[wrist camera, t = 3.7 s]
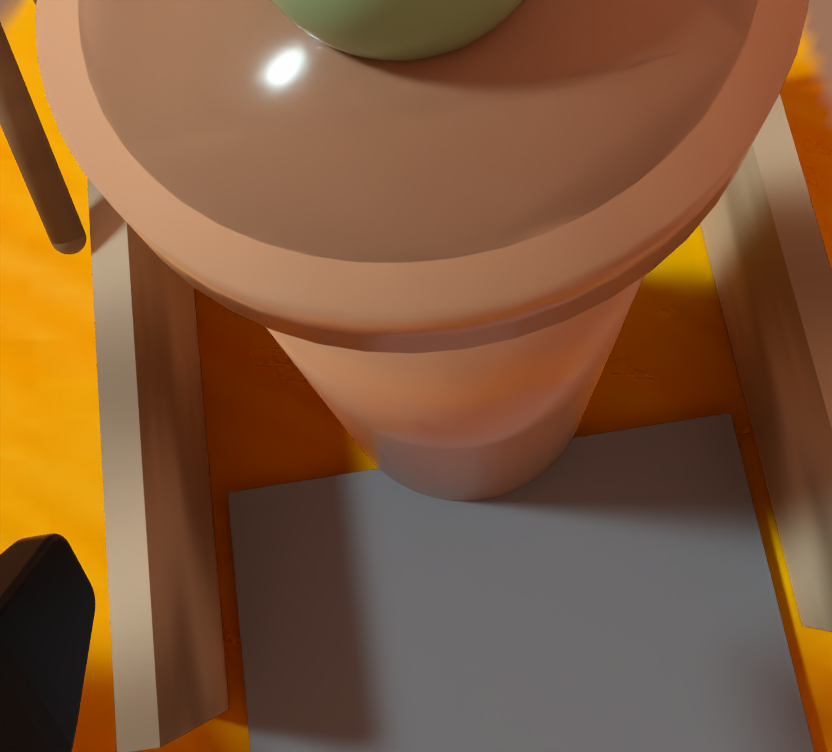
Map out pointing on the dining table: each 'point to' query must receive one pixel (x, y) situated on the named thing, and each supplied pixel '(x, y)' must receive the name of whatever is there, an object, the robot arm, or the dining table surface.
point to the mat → (520, 608)
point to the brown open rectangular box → (186, 433)
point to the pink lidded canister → (421, 188)
